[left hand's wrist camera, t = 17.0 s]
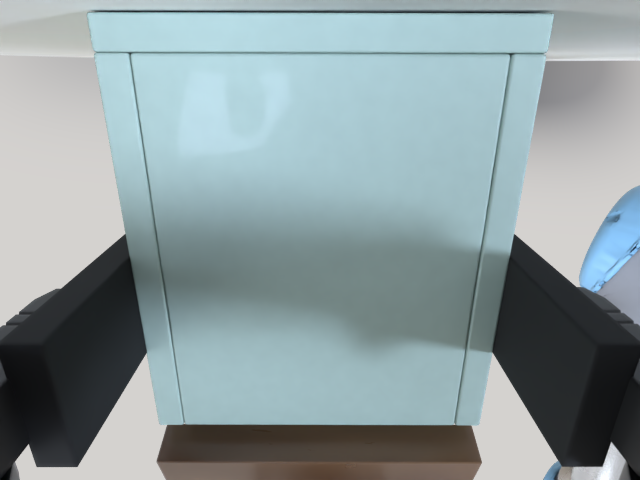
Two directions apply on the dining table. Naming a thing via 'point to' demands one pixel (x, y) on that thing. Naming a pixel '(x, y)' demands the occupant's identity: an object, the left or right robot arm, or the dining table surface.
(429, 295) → the chest
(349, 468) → the lid
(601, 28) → the dining table surface
